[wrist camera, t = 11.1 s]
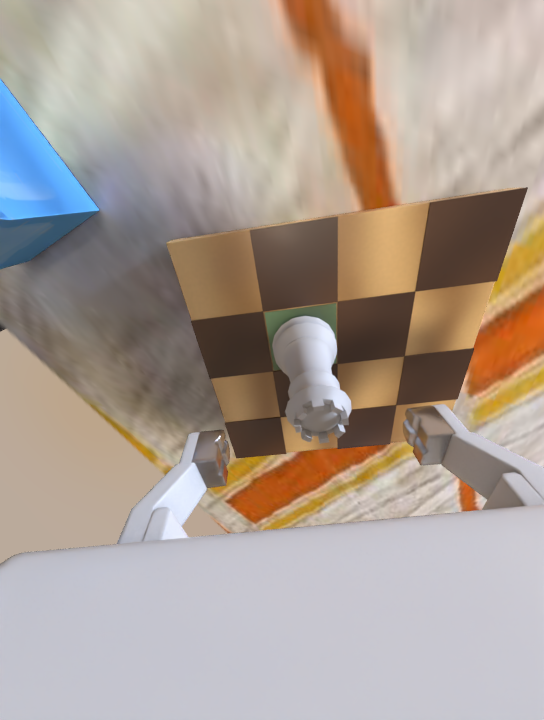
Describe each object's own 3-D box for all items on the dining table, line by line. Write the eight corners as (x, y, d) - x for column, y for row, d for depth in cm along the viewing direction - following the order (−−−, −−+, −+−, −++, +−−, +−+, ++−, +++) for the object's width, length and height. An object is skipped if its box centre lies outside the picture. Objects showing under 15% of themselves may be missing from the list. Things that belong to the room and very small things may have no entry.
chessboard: (237, 449, 27) (236, 458, 26) (170, 240, 16) (164, 242, 15) (437, 430, 26) (444, 438, 25) (511, 187, 15) (527, 187, 14)
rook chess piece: (346, 340, 19) (389, 424, 12) (301, 377, 20) (316, 467, 14) (305, 299, 17) (328, 370, 10) (259, 342, 19) (253, 426, 12)
